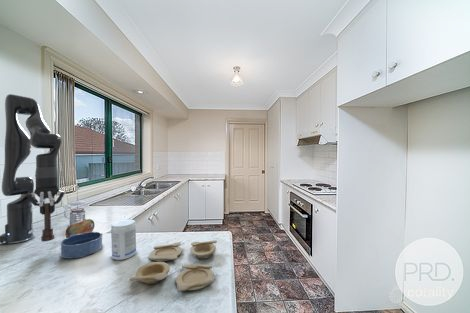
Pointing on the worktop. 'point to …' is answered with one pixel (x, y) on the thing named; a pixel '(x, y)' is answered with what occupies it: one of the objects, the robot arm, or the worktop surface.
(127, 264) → the worktop surface
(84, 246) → the bowl
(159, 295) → the worktop surface
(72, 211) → the french press
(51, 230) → the muddler
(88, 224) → the tin
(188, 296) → the worktop surface
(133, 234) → the supplement tub
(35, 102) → the robot arm
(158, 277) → the tableware set
